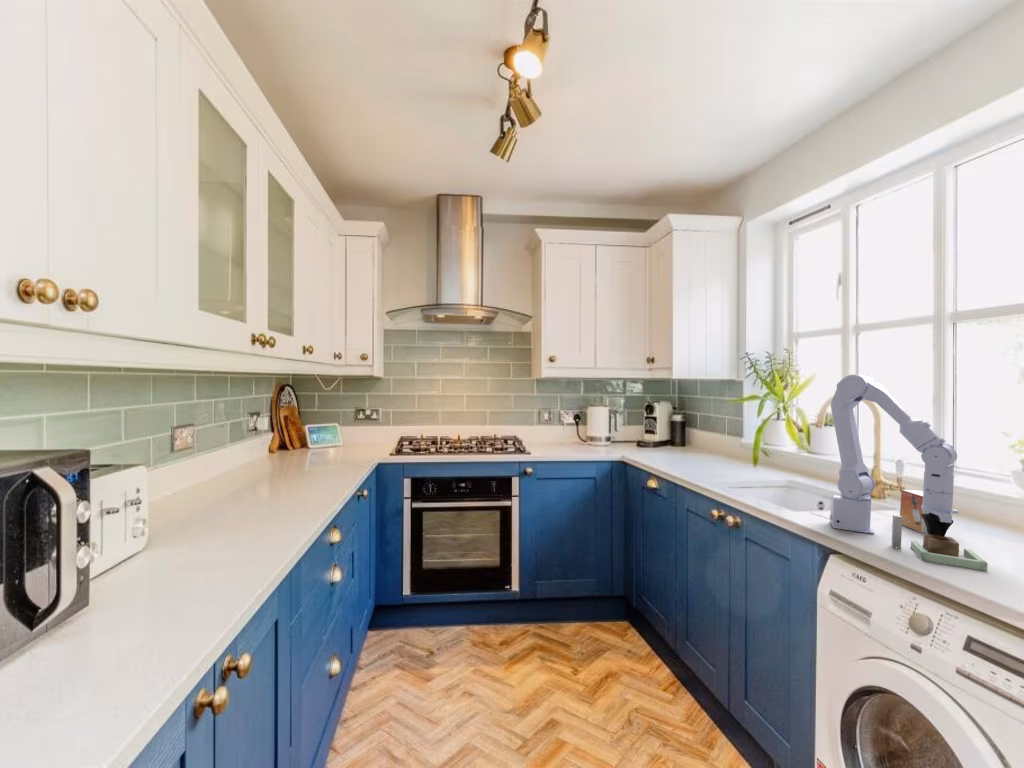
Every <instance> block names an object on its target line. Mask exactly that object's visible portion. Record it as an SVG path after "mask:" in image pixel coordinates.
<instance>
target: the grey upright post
mask: <svg viewBox="0 0 1024 768" xmlns="http://www.w3.org/2000/svg"><path fill="white" fill-rule="evenodd" d="M891 524H892V526H891V528H892V529H891V547H892V546H893V547H892V548H894V547H897V548H896V549H902V534H903V533H902V532H903V531H902V529H903V525H902V516H900V514H899V515H898V514H892V523H891Z"/></svg>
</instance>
